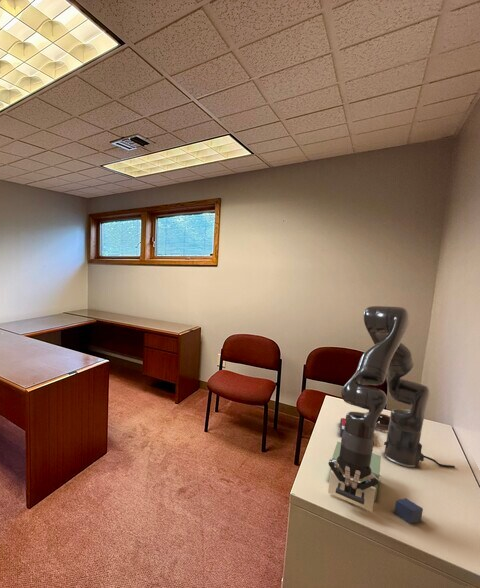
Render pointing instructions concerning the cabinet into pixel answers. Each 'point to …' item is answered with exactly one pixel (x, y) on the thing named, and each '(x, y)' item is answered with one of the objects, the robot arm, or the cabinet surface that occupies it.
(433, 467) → the cabinet surface
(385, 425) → the pottery mug
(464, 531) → the cabinet surface
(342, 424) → the red and grey box
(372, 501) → the drawer
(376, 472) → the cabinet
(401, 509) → the block
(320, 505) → the cabinet surface
